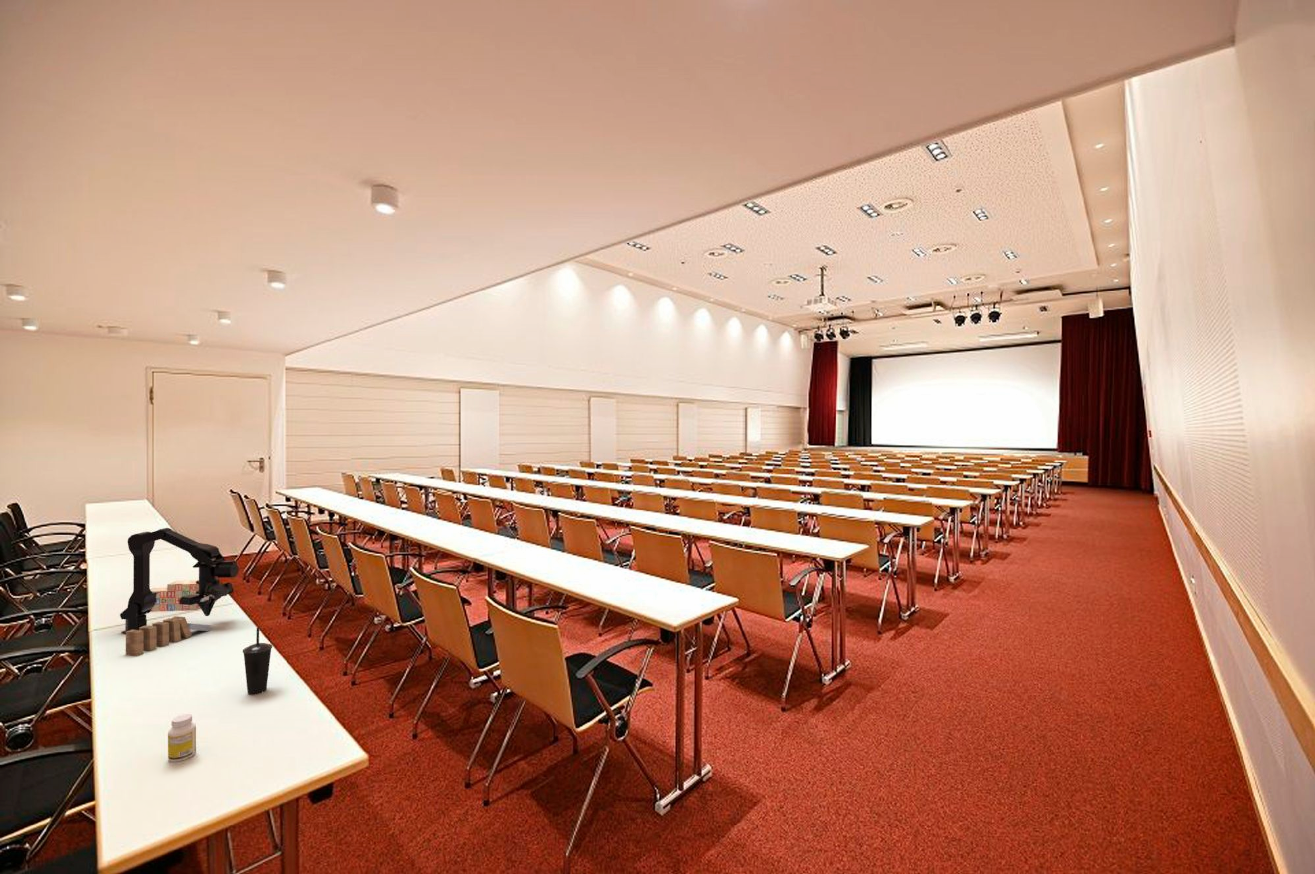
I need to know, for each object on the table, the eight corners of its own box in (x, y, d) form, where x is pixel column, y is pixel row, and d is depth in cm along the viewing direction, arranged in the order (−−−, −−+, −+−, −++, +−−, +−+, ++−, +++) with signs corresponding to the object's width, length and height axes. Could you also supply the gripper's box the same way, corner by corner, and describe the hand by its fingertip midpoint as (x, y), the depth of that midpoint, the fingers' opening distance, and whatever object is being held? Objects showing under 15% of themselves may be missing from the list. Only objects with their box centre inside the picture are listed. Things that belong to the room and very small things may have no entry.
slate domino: (198, 630, 232) (179, 628, 225) (200, 624, 233) (181, 622, 226) (208, 631, 231) (189, 629, 224) (210, 625, 232) (191, 623, 225)
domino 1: (125, 655, 206) (125, 631, 206) (132, 652, 208) (132, 629, 208) (136, 656, 205) (136, 632, 205) (143, 654, 207) (143, 630, 207)
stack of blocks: (143, 612, 254) (144, 584, 254) (153, 607, 260) (154, 581, 260) (197, 610, 258) (197, 583, 257) (205, 606, 264) (206, 579, 264)
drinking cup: (277, 688, 181) (278, 625, 181) (253, 698, 174) (254, 633, 174) (260, 684, 184) (261, 622, 184) (236, 694, 177) (236, 630, 176)
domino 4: (164, 641, 219) (162, 620, 219) (170, 639, 221) (168, 618, 221) (175, 642, 218) (173, 621, 218) (180, 640, 220) (179, 619, 220)
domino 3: (152, 646, 215) (152, 623, 215) (158, 643, 217) (158, 621, 217) (162, 647, 214) (163, 624, 214) (168, 645, 216) (169, 622, 216)
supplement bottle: (178, 750, 146) (178, 712, 145) (201, 750, 146) (201, 712, 146) (162, 763, 140) (162, 723, 140) (185, 762, 141) (185, 722, 141)
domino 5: (176, 637, 224) (168, 619, 221) (181, 634, 226) (174, 616, 223) (186, 638, 223) (179, 620, 220) (191, 635, 225) (184, 617, 222)
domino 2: (139, 650, 210) (139, 627, 210) (145, 648, 213) (145, 625, 212) (150, 651, 209) (150, 628, 209) (156, 649, 212) (156, 626, 212)
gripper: (201, 584, 223) (201, 624, 223) (244, 573, 241) (244, 610, 241) (178, 583, 225) (178, 622, 225) (222, 571, 243) (222, 608, 243)
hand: (207, 615), depth 233 cm, fingers closed
